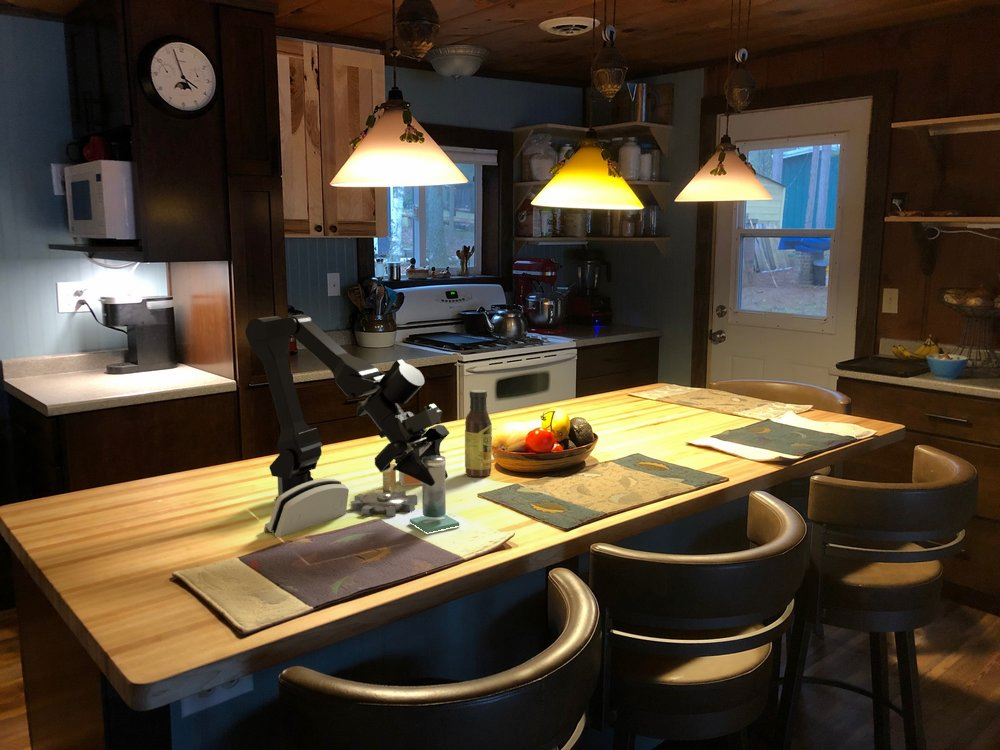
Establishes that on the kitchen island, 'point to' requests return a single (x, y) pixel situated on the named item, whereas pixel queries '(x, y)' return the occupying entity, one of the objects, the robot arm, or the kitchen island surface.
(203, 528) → the kitchen island surface
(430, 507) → the roller
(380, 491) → the sprocket
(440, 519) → the pad
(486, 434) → the sauce bottle
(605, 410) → the kitchen island surface
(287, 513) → the white rounded block
